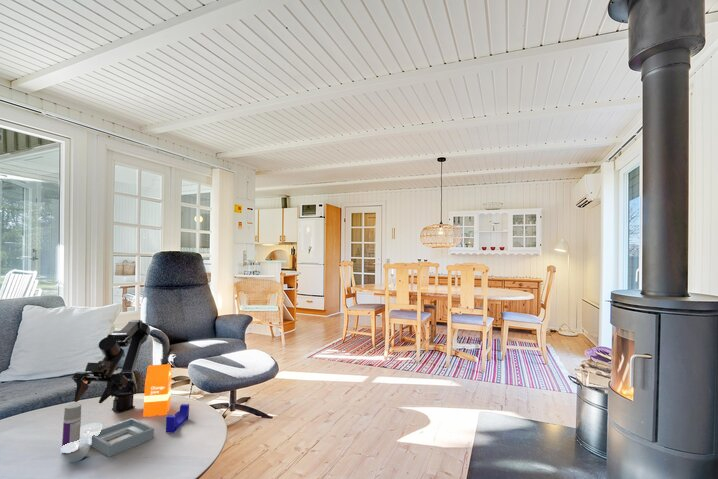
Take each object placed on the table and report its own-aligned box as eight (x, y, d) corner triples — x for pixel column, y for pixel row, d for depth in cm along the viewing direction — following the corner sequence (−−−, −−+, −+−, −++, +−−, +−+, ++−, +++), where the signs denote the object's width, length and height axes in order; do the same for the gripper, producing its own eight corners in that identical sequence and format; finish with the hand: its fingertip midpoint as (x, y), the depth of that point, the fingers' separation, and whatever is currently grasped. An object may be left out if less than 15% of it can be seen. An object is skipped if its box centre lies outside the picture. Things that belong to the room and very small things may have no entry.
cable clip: (177, 418, 149) (178, 404, 149) (188, 419, 149) (189, 404, 149) (161, 433, 137) (162, 416, 137) (173, 433, 137) (174, 417, 137)
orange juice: (147, 409, 156) (150, 362, 157) (170, 407, 159) (172, 361, 160) (142, 417, 149) (145, 368, 150) (166, 415, 152) (169, 366, 152)
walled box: (131, 427, 140) (132, 418, 140) (153, 437, 133) (154, 428, 133) (87, 444, 127) (87, 433, 127) (109, 456, 120) (109, 446, 120)
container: (58, 451, 122) (61, 406, 123) (74, 445, 126) (77, 402, 127) (65, 455, 120) (68, 409, 121) (81, 449, 124) (84, 404, 125)
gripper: (76, 351, 137) (49, 392, 126) (124, 353, 136) (100, 394, 125) (91, 364, 145) (67, 404, 134) (136, 366, 144) (116, 407, 133)
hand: (87, 402), depth 131 cm, fingers open, 9 cm apart
